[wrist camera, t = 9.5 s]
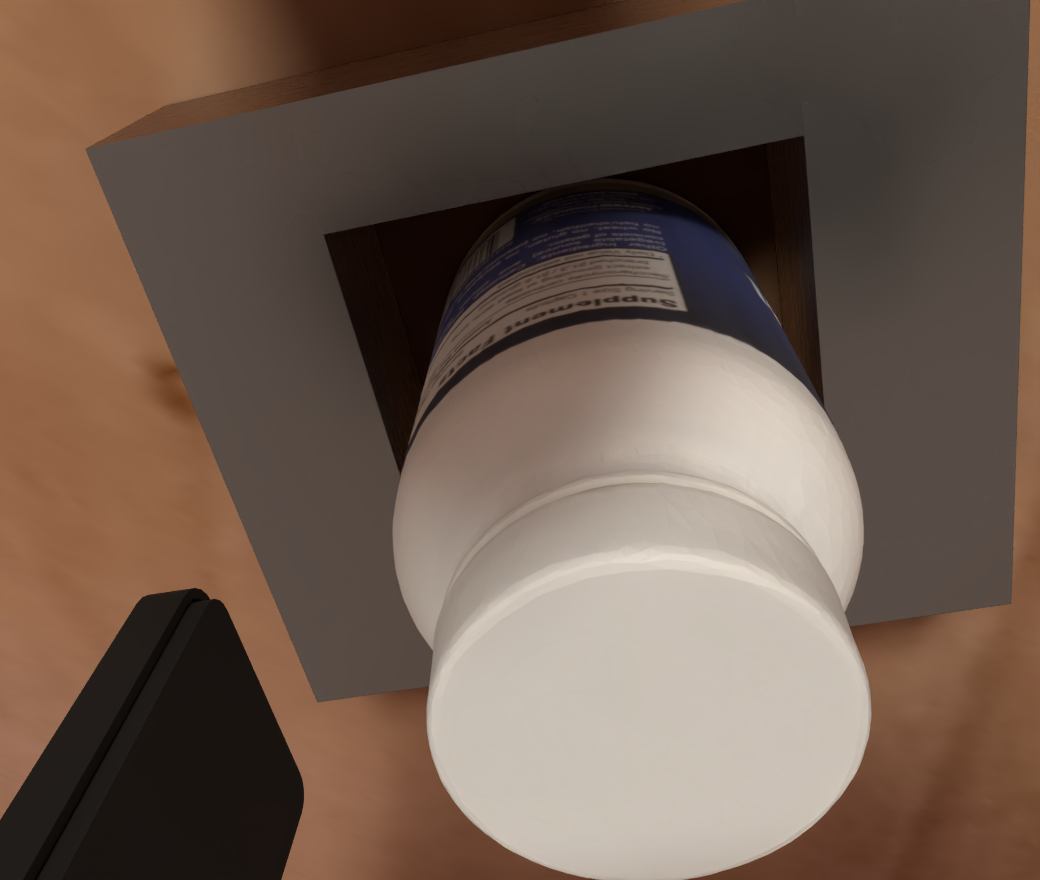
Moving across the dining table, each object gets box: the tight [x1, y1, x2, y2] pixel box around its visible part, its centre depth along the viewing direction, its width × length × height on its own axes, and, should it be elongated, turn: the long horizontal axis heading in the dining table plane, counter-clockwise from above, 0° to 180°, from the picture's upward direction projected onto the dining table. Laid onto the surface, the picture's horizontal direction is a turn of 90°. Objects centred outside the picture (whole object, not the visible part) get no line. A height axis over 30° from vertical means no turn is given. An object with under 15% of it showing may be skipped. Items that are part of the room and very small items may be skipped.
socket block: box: [86, 0, 1030, 702], centre depth 16 cm, size 12×10×3 cm
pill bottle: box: [393, 179, 871, 880], centre depth 13 cm, size 5×5×10 cm
